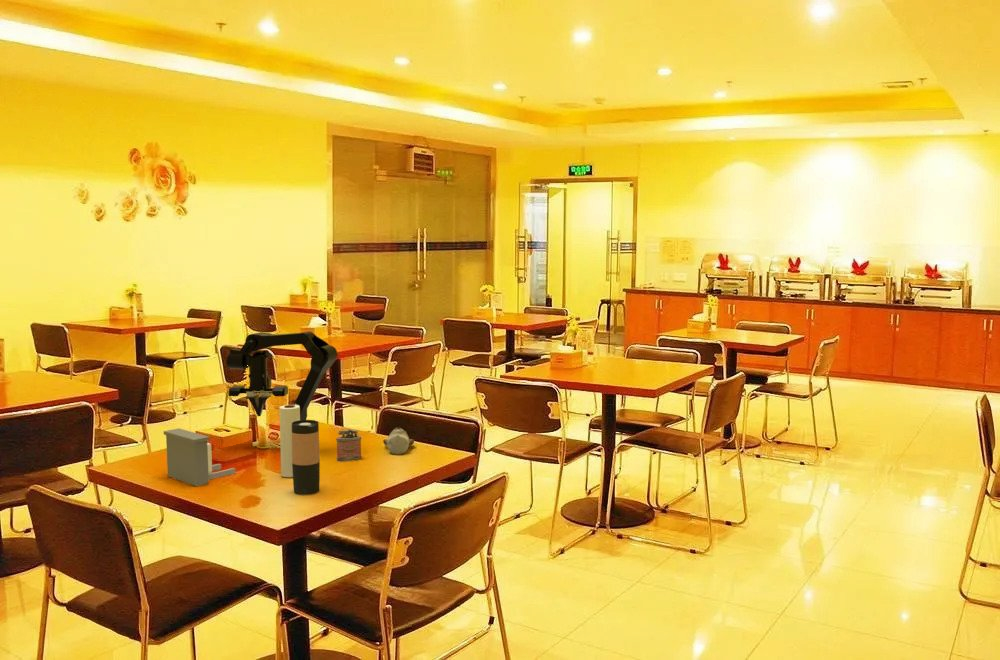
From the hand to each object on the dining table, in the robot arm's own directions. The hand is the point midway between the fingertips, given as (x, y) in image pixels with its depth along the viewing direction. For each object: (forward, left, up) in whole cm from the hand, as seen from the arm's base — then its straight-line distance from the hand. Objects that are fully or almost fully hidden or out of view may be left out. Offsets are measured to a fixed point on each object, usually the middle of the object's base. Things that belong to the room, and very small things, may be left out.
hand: (259, 416), depth 291 cm
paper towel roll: (-18, +29, -12) cm, 36 cm away
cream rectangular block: (+9, +32, -12) cm, 35 cm away
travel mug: (-26, +46, -12) cm, 54 cm away
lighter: (-32, +11, -12) cm, 36 cm away
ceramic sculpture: (-47, -1, -12) cm, 48 cm away
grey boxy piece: (+8, +31, -12) cm, 34 cm away
